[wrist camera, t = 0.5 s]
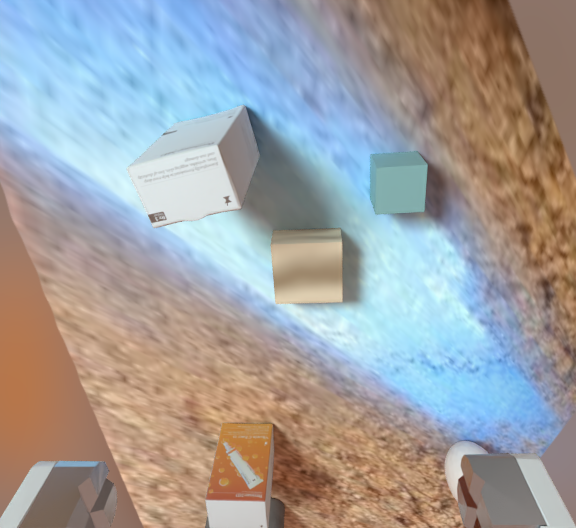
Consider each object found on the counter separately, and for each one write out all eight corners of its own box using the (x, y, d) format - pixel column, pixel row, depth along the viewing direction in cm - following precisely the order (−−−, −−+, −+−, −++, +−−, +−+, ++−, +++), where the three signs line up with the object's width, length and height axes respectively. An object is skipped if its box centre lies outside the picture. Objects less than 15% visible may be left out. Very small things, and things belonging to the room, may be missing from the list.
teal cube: (370, 154, 50) (376, 167, 46) (417, 151, 50) (427, 164, 45) (369, 197, 52) (375, 214, 48) (414, 194, 52) (424, 211, 48)
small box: (273, 422, 70) (266, 501, 59) (274, 450, 73) (269, 531, 62) (220, 421, 71) (204, 500, 59) (224, 449, 74) (209, 530, 62)
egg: (432, 434, 70) (453, 507, 60) (481, 423, 69) (511, 495, 58) (443, 465, 74) (465, 539, 63) (490, 454, 72) (521, 528, 62)
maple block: (273, 229, 55) (270, 244, 51) (340, 227, 54) (342, 242, 51) (277, 286, 59) (275, 303, 55) (340, 284, 58) (342, 302, 55)
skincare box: (245, 103, 48) (222, 138, 35) (262, 158, 50) (246, 210, 37) (170, 123, 49) (121, 164, 36) (190, 176, 52) (151, 232, 39)
